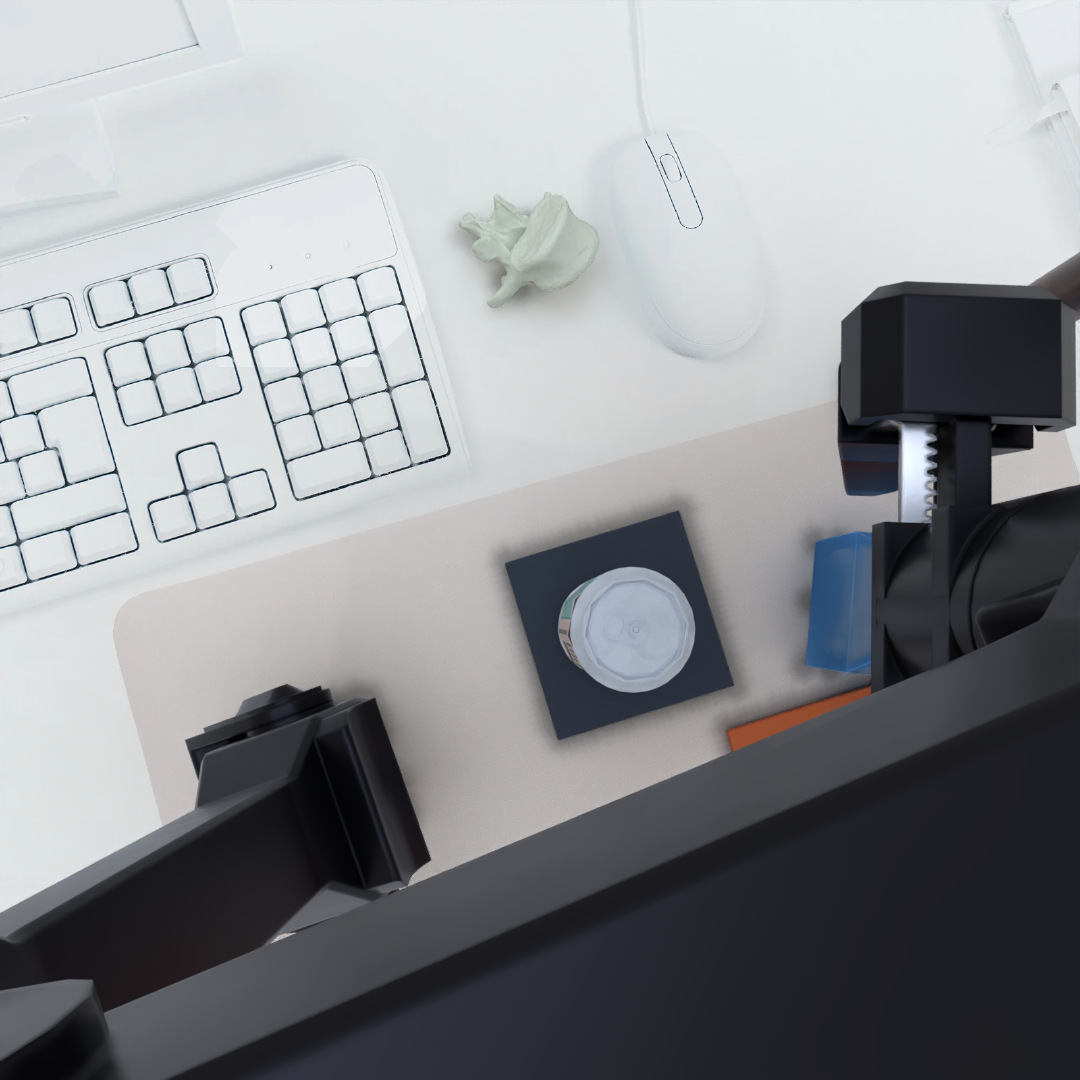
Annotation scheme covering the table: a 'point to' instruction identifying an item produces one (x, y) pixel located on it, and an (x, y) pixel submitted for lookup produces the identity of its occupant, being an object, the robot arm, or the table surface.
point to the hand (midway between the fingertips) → (859, 614)
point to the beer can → (628, 629)
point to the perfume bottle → (841, 604)
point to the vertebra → (533, 245)
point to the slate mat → (568, 566)
